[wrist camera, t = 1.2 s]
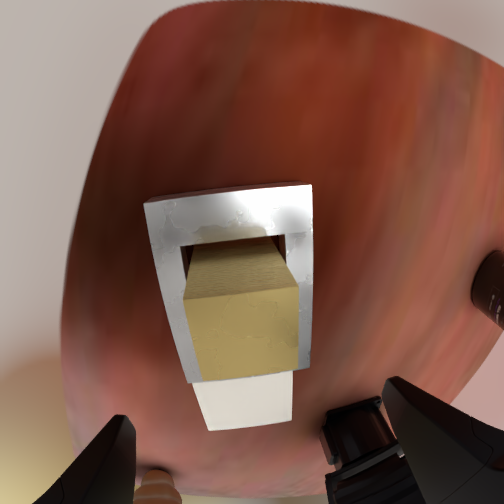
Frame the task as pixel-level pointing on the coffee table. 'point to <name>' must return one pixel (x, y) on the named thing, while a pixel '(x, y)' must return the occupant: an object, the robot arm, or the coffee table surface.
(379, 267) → the coffee table surface
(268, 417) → the coaster
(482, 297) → the supplement bottle
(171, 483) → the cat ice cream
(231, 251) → the brass metal cube
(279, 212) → the white flat frame
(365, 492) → the robot arm
